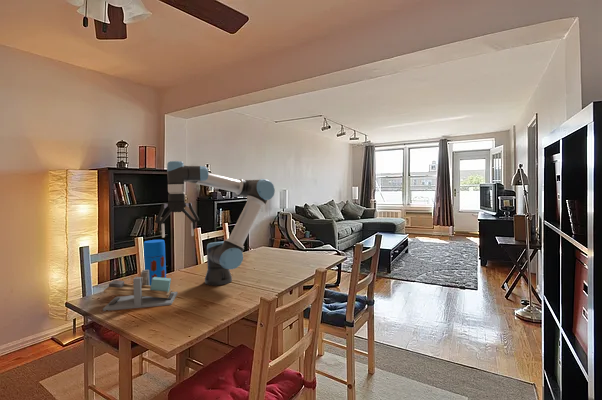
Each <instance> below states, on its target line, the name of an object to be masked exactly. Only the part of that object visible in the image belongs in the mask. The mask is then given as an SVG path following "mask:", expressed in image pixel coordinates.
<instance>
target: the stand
mask: <svg viewBox="0 0 602 400" xmlns="http://www.w3.org/2000/svg"><path fill="white" fill-rule="evenodd" d="M141 272H148V277H147V283H146V285H149V286H150V279H149V270H145V269H143V270H141ZM138 277H139V278H136V277H133V281H132V282H133V283H132V284H134V295H120V296H119V295H118V296H115V297H114V298H113V299H112V300H111V301H109V302H108V303H107V304H106V305H105V306H104V307H103V308H102V311H103V312H107V311H106V310H108V311H117V310H129V309H141V308H150V307H162V306H172V304H173V302H174V301H175V299H176V297H177V295H178V291H172V292H171V294H170V296H169V297H168V298H160V297H147V296H142V289H141V276H138Z"/></svg>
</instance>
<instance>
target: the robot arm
mask: <svg viewBox="0 0 602 400" xmlns="http://www.w3.org/2000/svg"><path fill="white" fill-rule="evenodd" d="M166 166H167V167H166V169H167V170H166V172H167V173H166V174H167V192H168V194H167V196H168V197H167V198H168V203H161V205H160V206H161V207H160V210H159V212H158V214H157V216H156V219H155V220H154V224H155V223H156V224H158V225H159V228H158V229H159V231H161V238H165V237H166V234H165V233H166V232H165V231H166V230H165V223H164V222H165V220H166V219H168V217H169V216H170V215H171V214H172V213H181V212H182V213H183V214H184V215H185V216H186V217H187V218H188V219H189V220H190V221H191V222H190V232H191V233H190V236H191V237H194V235H195V234H194V233H195V232H194V230H196V226H197V223H196V222H199V221H200V217H199V216H198V214H197V212H196V211H195V209H194V207H193V204H192V202H186V197H185V195H186V194H185V192H186V191H185V183H191V184H196V185H199V186H200V185H201V186H205V187H210V188H214V189H219V190H222V191H223V190H224V191H227V192H232V193H235V195H237V196H241V197H244V198H246V199H247V201H246V203H245V205H244V207H243V210H242V211H241V213H240V214H239V217H238V219H237V220H236V224H235V225H234V227H233V229H232V231H231V233H230V235H229V237H228V238H226V239H224V240H223V241H214V242H209V243H207V245H206V260H207V262H206V264H207V265H206V266H207V270H206V274H205V276H204V285H206V286H207V285H208V286H222V285H226V284H229V283H231V282H232V281H233V276H232V274H231V271H230V270H234V269H237V268H238V267H240V266H241V264H242V263H243V261H244V253H243V252H244V251H245V247H244V244H245V242H246V240H247V237H248V236H249V233H250V231H251V229H252V227H253V226H254V223H255V221H256V219H257V217H258V214H259V212H260V211H261V209H262V207H265V206H266V204H267V202H268V201H270V200H271V199H272V198H274V196H275V192H276V191H275V189H276V188H275V186H274V184H273V182H272V181H270V180H269V179H265V178H261V179H242V178H239V179H236V178H232V177H227V176H223V175H220V174H215V173H211V172H209V170H208V167H207V166H203V165H185V164H184V161H180V160H172V161H168V162H167V164H166ZM167 207H168V209H169V210H167V212H166V213H165V214H164V216H163V217H162V215H163V213H164V211H165V210H166V208H167ZM186 207H187V208H189V210H190V212H191V214H192V215H191V214H190V213H189V212H188V211H187V210H186ZM161 217H162V218H161Z"/></svg>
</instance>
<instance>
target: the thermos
mask: <svg viewBox="0 0 602 400" xmlns="http://www.w3.org/2000/svg"><path fill="white" fill-rule="evenodd" d="M143 261H144V263H143V264H144V270H149V279H150V286H151V282H152V279H153V278H154V277H161V278H167V267H166V266H167V265H166V263H167V261H166V243H165V240H164V239H152V240H151V239H150V240H145V241H144V242H143Z"/></svg>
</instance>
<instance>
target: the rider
mask: <svg viewBox="0 0 602 400" xmlns="http://www.w3.org/2000/svg"><path fill="white" fill-rule="evenodd" d="M171 282H172V278H171V277H166V278H161V277H154V278H153V279H152V282H151V289H150V290H155V291H167V293H168V292H169V290H170V289H171Z"/></svg>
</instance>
